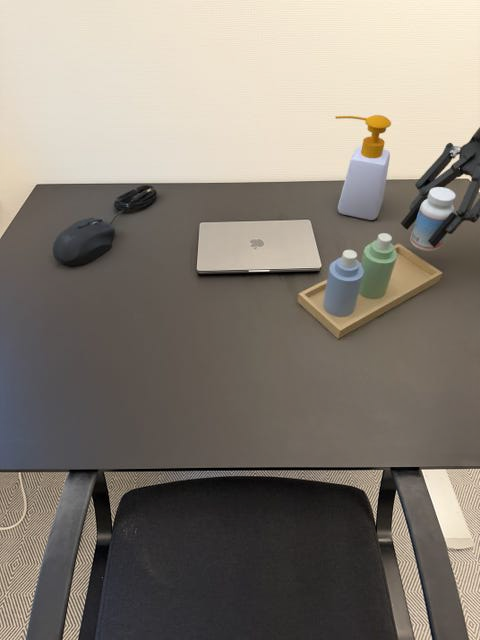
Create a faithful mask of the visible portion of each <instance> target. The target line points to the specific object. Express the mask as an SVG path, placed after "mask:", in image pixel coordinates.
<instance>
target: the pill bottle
mask: <svg viewBox="0 0 480 640" xmlns="http://www.w3.org/2000/svg"><path fill="white" fill-rule="evenodd" d="M455 199H456V193H455V192H454V191H453V190H452V189H451V188H448V187H435V188H432V189H431V190H430V191H429V194H428V199H426V200H424V201H423V202H422V204H421V206H420V209H419V212H418V215H417V219H416V220H415V221H414V224H413V229H412V231H411V235H410V238H409V239H410V240H409V241H410V243H411V244H412V245H413V247H415V248H416V249H418V250H421V251H426V252H433V251H436V250H439V249H441V247H442V244H443V242H444V239H445V237H446V235H445V236H444V237H443V238H442V240H441V241H440V242H439V243H438V244H437V246H436V247H433V246H432V245H431V244H430V243H429V242H428V240H429V239H430V238H431V237H432V235H433V234H434V233H435V232H436V231H437V229H438V228H439V227H440V226H441V225H442V223H443V222H444V221H445V220H446V219H447V217H448V216H449V215H450V214H451V213H452V212H453V213H455V208H454V203H455Z"/></svg>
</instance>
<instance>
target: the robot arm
mask: <svg viewBox="0 0 480 640" xmlns="http://www.w3.org/2000/svg"><path fill="white" fill-rule="evenodd" d="M457 156H458V159H457V160H456V161H455V162H454V163H452V164H451V166H450V167H449V168H448V169H447V170H445V169H446V168H447V167H448V165H449V164H450V163H451V161H452V160H454V159H456V157H457ZM444 170H445V171H444ZM443 171H444V172H443ZM442 172H443V173H442ZM463 175H465V176H469V177H470V179H471V180H470V182H469V184H468V187H467V189H466V191H465V193H464V196H463V199H462V201H461V202H460V205H459V207H458V210H455V211H456V212H454V213H453V212H452V213H451V214H450V215H449V216H448V217H447V219H446V220H445V221H444V222H443V223H442V225H441V226H440V227H439V228H438V229H437V231H436V232H435V233H434V234H433V235H432V237H431V238H430V239H429V240H428V242H429V243H430V244H431V245H432V246H433V247H436V246H437V244H438V243H439V242H440V241H441V240H442V238H443V237H444V236H445V237H446V236H447V234H449V235H452V234H454V233H455V231H456V230H457V229H458V228H459V226H461V224H462V223H463V222H465V221H467V222H471V223H476V222H477V221H478V220H479V219H480V197H479V198H478V200H477V201H476V198H477V196H478V194H479V192H480V126H479V127H478V129H477V130H476V131H475V133H474V134H473V135H472V136H471V138H470V140H469V141H468V142H466V143H464V144H463V145H462V146H457V145H454V144H453V143H452V142H448V143H447V144H446V145H445V147H444V149H443V151H442V153H441V154H440V155H439V157H437V159H436V160H435V161H434V162H433V163H432V165H430V166H429V168H427V170H426V171H425V172H424V173H423V174H422V176H421V177H420V178H419V179H418V180H417V181H416V182H415V185H414V186H415V188H416V189H417V191H418V195H416V197H415V198H414V200H413V201H412V202H411V203H410V205H409V206H408V209H409V212H408V213H407V215H405V217H404V218H403V219H402V221H401V222H400V225H401V226H402V227H403V229H405V230H407V231H408V230H409V229H410V228H411V226H412V225H414V224H415V222H416V219H417V215H418V212H419V209H420V206H421V204H422V202H423V201H424V200H426V199H428V194H429V191H430V190H431V189H432V188H435V187H444V188H446V186H448V185H449V184H450V183H452V182H453V181H454V180H455V179H458V178H460V177H462V176H463ZM475 201H476V202H475ZM474 203H475V204H474ZM445 237H444V238H445Z"/></svg>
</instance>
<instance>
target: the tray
mask: <svg viewBox="0 0 480 640" xmlns="http://www.w3.org/2000/svg"><path fill="white" fill-rule="evenodd" d="M393 246H394V249H395V250H396V252H397V259H396V262H395V265H394V268H393V272H392V275H391V278H390V281H389V284H388V288H387V291H386V294H385V295H384V296H383V297H381V298H378V299H370V298H366V297H363V296H362V295H360V294H359V293H358V297H357V301H356V305H355V309H354V311H353V313H352V314H350V315H348V316H345V317H337V316H333V315H331V314H329V313H328V312H327V311H326V310H325V309H324V307H323V300H324V295H325V289H326V284H327V279H325V280H323V281H321V282H319V283H316V284H315V285H313V286H311V287H309V288H307V289H305V290H302V291H301V292H299V293H298V296H297V303H298V304H299V305H300V306H301V307H302V308H303V309H305V310H306V311H307V312H308V313H309V314H310V315H311V316H312V317H314V319H315V320H317V321H318V322H319V323H320V324H321V325H322V326H323V327H324V328H325V329H326V330H327V331H329V332H330V333H331V334H332V335H333V336H334V337H336V339H338V340H339V339H341V338H343V337H345V336H346V335H349V333H352V332H354V331H355V330H357V329H358V328H360V327H362V326H364V325H366V324H367V323H369V322H371V321H372V320H374V319H376V318H377V317H379V316H382V315H383V314H385V313H386V312H388V311H390V310H392V309H393V308H395V307H397V306H399V305H400V304H402V303H404V302H405V301H407V300H409V299H411V298H413V297H414V296H415V295H418V294H419V293H421V292H424V291H425V290H426V289H428V288H430V287H431V286H434V285H435V284H437V283H439V282H440V280H441V277H442V275H443V272H442V271H441V270H439V269H438V268H437V267H435V266H433V265H431V264H430V263H429V262H428V261H426V260H424V259H423V258H421V257H420V256H419V255H417V254H415V253H414V252H412V251H411V250H409V249H408V248H407V247H405V246H403V245H402V244H400V243H396V244H395V245H393ZM359 264H360V265H361V262H359Z"/></svg>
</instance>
